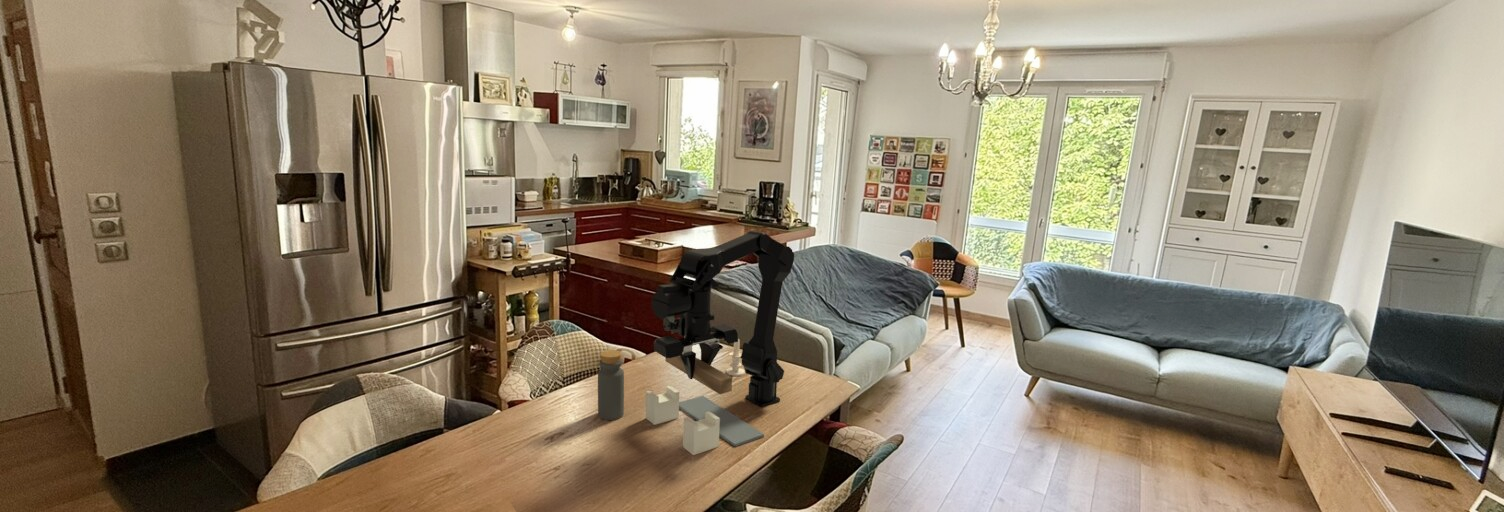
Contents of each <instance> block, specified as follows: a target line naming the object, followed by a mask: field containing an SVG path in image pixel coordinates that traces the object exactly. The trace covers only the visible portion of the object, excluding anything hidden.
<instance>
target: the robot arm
mask: <svg viewBox="0 0 1504 512" xmlns="http://www.w3.org/2000/svg"><path fill="white" fill-rule="evenodd" d="M793 251H794V250H793V249H792V248H791V247H790V246H787V245H784V244H782V242H779V241H777V240H775V238H772V237H771V235H770V236H769V234H768V233H766V232H764V231H763V232H762V231H758V230H750V231H748V232H746V233H745V234H743V235H740V236H737V237H736V238H733V239H731V240H729V241H726V242H723V243H721V244H719V245H717V246H714V247H709V248H708V247H707V248H705V247H704V248H696V249H691V250H690V249H689V250H687V251H685V252H684V253H683V254H682V257H681V259H680V261H679V262H678V265H677V266H676V268H675V270H674V272H673V273H672V275H671V278H670V280H669V284H659V285H658V286H657V291H656V292H654V294H653V296H652V299H651V301H650V302H651V308H652V312H653V313H654V315H655V316H656V318H658V319H660V320H663V323H662V324H663V329H664V331H665V332H669V331H670V333H671V334H673V335H674V334H676V333H678V336H681V337H683V338H676V337H674V336H673V335H671V334H670V335H667V336H663V337H662V336H661V337H657V338H656V339H655V340H654V342H653V351H654V352H656V353H657V354H659V355H660V356H662V357H664V358H673V357H677V356H680V358H681V360H682V362H683V364H684V367H685V370H686V372H687V374H686V375H687V377H688V379H689V380H693V379H694V378H693V375H694V368H695V359H696V358H697V353H696V352H695V351H693V346H696V345H699V349H700V360H702V361H703V362H705V363H707V364H709V365H711V366H712V363H713V362H714V360H715V358H716V357H717V355H718V353H719V352H720V350H722V349H723V348H724V345H722V344H720V340H722V339H723V341H724V342H725V343H726V344H728V345H730V344H734V343H735V342H738V339H739V331H738V330H737V329H736V328H734V327H733V326H730V325H728V324H725V323H722V324H717V325H712V326H711V321H714V320H715V315H714V314H712V289H713V288H718V287H719V286H720V284H719V283H718V282H717V281H716V280H715V277H716V276H717V275H719V274H720V273H721V272H722V270H723V268H724V267H725V266H728V265H730V264H732V263H734V262H736V261H738V260H741V259H744V258H746V257H747V256H750V255H751V254H753V255H755V256H756V257H757V258H758V261H757V263H758V264H757V265H758V266H757V268H758V270H759V273H760V275H761V278H762V279H761V285H760V292H759V298H758V304H757V309H756V315H755V322H754V323H755V324H754V330H753V335H752V337H751V338H750V339H749V340H748V342H747V341H746V342H743V344H742V352H741V353H742V355H741V357H740V359H741V364H742V366H743V369H744V370H745V374H746V375H750V377H749V378H750V379H749V383H748V394H745V399H747V400H748V401H750V402H751V403H753V404H756V405H757V406H759V407H764V406H768V405H770V404H774V403H777V402H780V401H781V398H780V397H779V396H777V387H778V383H779V382H780V380H783V378H784V374H785V370H784V368H783V367H782V366H781V365H780V364H779V363H778V350H777V346H776V344H775V342H774V336H775V329H776V325H777V323H776V322H777V318H778V313H779V312H778V311H779V306H780V299H781V293H782V288H783V287H782V286H783V282H784V281H785V280H786V278H787V277H788V276H789V275H790V273H791V271H792V269H793V265H794V262H795V252H793ZM687 277H688V278H687ZM675 316H680V317H678V318H675Z"/></svg>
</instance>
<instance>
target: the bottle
mask: <svg viewBox="0 0 1504 512" xmlns="http://www.w3.org/2000/svg"><path fill="white" fill-rule="evenodd" d="M621 357H622V352H621V351H620V350H616V349H615V350H614V349H609V350H605V351H602V352H600V360H599V367H600V369H599V370H598V372H597V416H598V417H599V418H600V419H602V420H604V421H615V420H618V419H621V418H622V417H624V413H625V371H624V369H623V368H621V367H622V366H623V359H622V358H621Z"/></svg>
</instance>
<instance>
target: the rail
mask: <svg viewBox="0 0 1504 512" xmlns="http://www.w3.org/2000/svg"><path fill="white" fill-rule="evenodd" d="M664 358H665V357H664ZM665 362H666V363H667V364H668V365H671V366H673V367H674V368H676V369H677V370H679V371H681V372H683V373H684V374H685V375H687V372H686V370H685V367H684V364H683V362H682V360H681V358H680V356H677V357H673V358H665ZM693 379H694V380H696V381H697V382H699V383H700V384H702V385H704V386H705V387H707V388H709V389H711V390H712V392H713V391H714V392H715V393H717V394H718V395H723V394H726V393H730V392H732V390H733V376H731V375H728V374H727V373H725V372H723V371H721V370H719V369H717V368H716V367H714V366H712V364H711V365H709V364H707V363H705V362H703V361H702V360H701V358H698V357H696V359H695V368H694V375H693Z"/></svg>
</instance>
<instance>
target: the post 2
mask: <svg viewBox="0 0 1504 512" xmlns="http://www.w3.org/2000/svg"><path fill="white" fill-rule="evenodd" d="M719 427H720V418H719V417H717V416H716V415H714V414H713V413H711V412H710V411H707V412H705V419H702V420H699V421H697V420H695V421H694V420H693V419H691V418H689V416H688V417H684V418H683V427H682V428H683V431H682V435H683V436H682V448H684V449H685V450H686V451H688V452H689V454H691V455H692V456H695V455H698V454H701V453H704V452H707V451H710V450H713V449H717V448H719V447H720V446H719V445H720V436H719Z"/></svg>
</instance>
